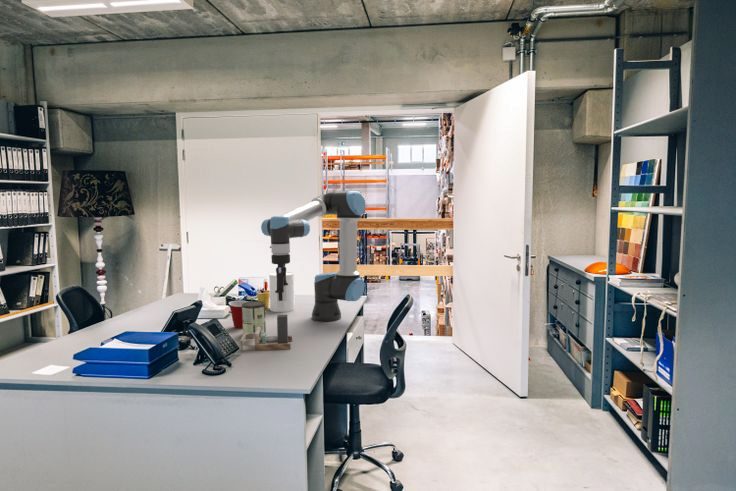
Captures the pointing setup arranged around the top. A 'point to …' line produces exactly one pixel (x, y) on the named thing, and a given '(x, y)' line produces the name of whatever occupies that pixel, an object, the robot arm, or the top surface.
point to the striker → (279, 331)
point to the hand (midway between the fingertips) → (282, 304)
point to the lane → (253, 344)
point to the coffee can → (253, 316)
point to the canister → (289, 289)
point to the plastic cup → (237, 313)
